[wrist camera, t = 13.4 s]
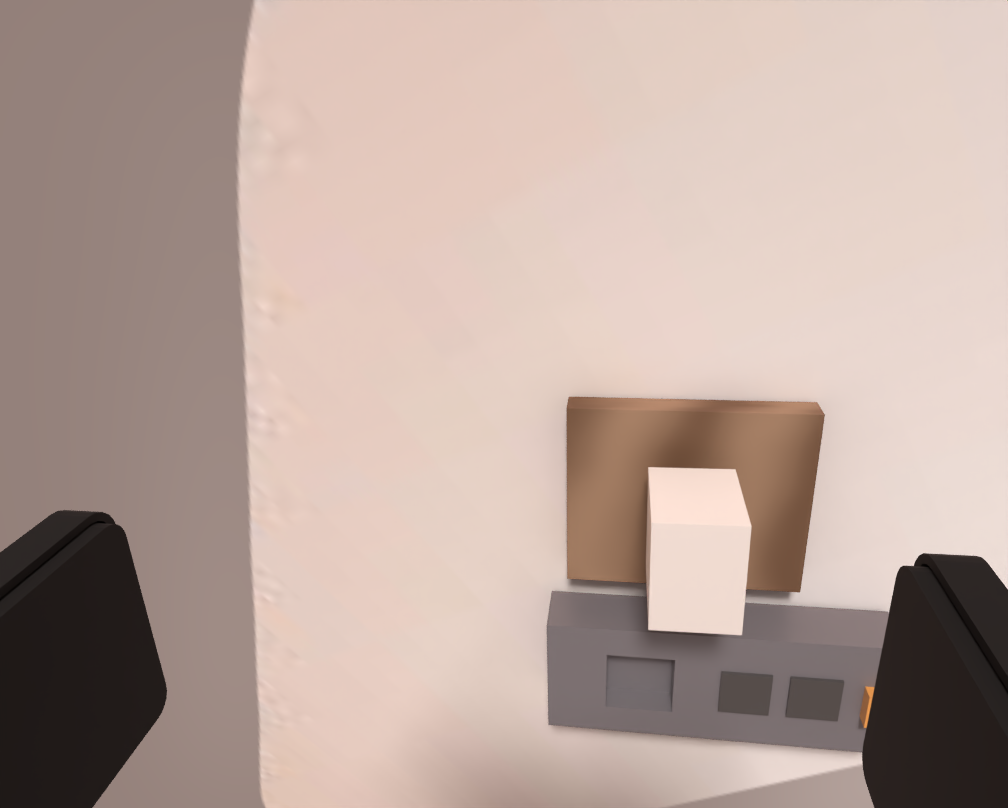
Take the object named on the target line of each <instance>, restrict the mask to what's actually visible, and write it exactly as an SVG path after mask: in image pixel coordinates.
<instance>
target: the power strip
mask: <svg viewBox="0 0 1008 808" xmlns="http://www.w3.org/2000/svg"><path fill="white" fill-rule="evenodd" d="M888 616H889V613H888V612H884V611H868V610H852V609H836V608H819V607H803V606H787V605H770V604H754V603H745V607H744V618H743V630H742V635H728V634H710V633H693V632H675V631H657V630H648V608H647V597H640V596H624V595H608V594H592V593H575V592H559V591H552V594H551V601H550V608H549V614H548V621H547V661H548V719H549V725H558V726H569V727H580V728H592V729H603V730H614V731H626V732H637V733H648V734H660V735H671V736H682V737H694V738H705V739H716V740H728V741H739V742H751V743H762V744H773V745H785V746H796V747H807V748H819V749H830V750H841V751H853V752H862V751H863V743H864V738H865V733H866V728H867V723H868V718H869V713H870V708H871V703H872V697H873V692H874V687H875V682H876V677H877V672H878V667H879V662H880V657H881V652H882V647H883V642H884V637H885V631H886V626H887V621H888Z"/></svg>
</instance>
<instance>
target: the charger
mask: <svg viewBox="0 0 1008 808" xmlns="http://www.w3.org/2000/svg"><path fill="white" fill-rule="evenodd" d="M751 527H752V526H751V523H750V519H749V516H748V512H747V509H746V505H745V501H744V498H743V494H742V491H741V487H740V484H739V480H738V477H737V473H736V469H703V468H660V467H648V498H647V536H646V583H647V608H648V630H657V631H675V632H693V633H710V634H728V635H742V630H743V618H744V607H745V595H746V584H747V572H748V561H749V550H750V538H751Z"/></svg>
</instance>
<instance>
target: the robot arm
mask: <svg viewBox="0 0 1008 808" xmlns="http://www.w3.org/2000/svg"><path fill="white" fill-rule="evenodd" d="M166 695H167V688H166V683H165V679H164V675H163V672H162V668H161V664H160V660H159V657H158V653H157V649H156V645H155V642H154V638H153V634H152V631H151V627H150V623H149V619H148V615H147V612H146V608H145V604H144V601H143V597H142V593H141V589H140V585H139V582H138V578H137V574H136V570H135V567H134V563H133V559H132V555H131V552H130V548H129V544H128V541H127V537H126V534H125V532H124V530H123V529H122V527H121V526H119V525H116V524H115V522H114V520H113V519H112V518H111V517H110V515H108V514H106V513H103V512H89V511H69V510H63V511H57V512H55V513H53V514H51V515H50V516H48V517H47V518H46V519H44V520H43V521H42V522H40V523H39V524H38V525H36V526H35V527H34V528H33V529H31V530H30V531H29V532H27V533H26V534H24V535H23V536H22V537H20V538H19V539H18V540H16V541H15V542H14V543H12V544H11V545H10V546H8V547H7V548H6V549H4V550H3V551H2V552H0V808H92V807H93V806H94V805H95V803H96V802H97V801H98V799H99V798H100V797H101V795H102V794H103V792H104V791H105V790H106V788H107V787H108V786H109V784H110V783H111V782H112V780H113V779H114V778H115V776H116V775H117V773H118V772H119V771H120V769H121V768H122V767H123V765H124V764H125V762H126V761H127V760H128V759H129V757H130V756H131V754H132V753H133V752H134V750H135V749H136V748H137V746H138V745H139V744H140V742H141V741H142V740H143V738H144V737H145V735H146V734H147V733H148V731H149V730H150V729H151V727H152V726H153V725H154V723H155V722H156V721H157V719H158V718H159V716H160V714H161V713H162V710H163V708H164V705H165V701H166ZM862 761H863V770H864V776H865V780H866V784H867V787H868V790H869V793H870V796H871V799H872V802H873V805H874V808H1008V589H1007V588H1006V587H1005V585H1004V584H1003V583H1002V581H1001V580H1000V579H999V577H998V576H997V575H996V574H995V572H994V571H993V570H992V568H991V567H990V566H989V564H988V563H987V562H986V561H985V560H984V559H983V558H981V557H978V556H965V555H945V554H925V553H923V554H921V555H920V556H919V557H918V558H917V560H916V561H915V564H914V566H902V567H900V569H899V571H898V573H897V576H896V581H895V586H894V591H893V596H892V601H891V606H890V611H889V616H888V621H887V626H886V631H885V637H884V642H883V647H882V652H881V657H880V662H879V667H878V672H877V677H876V682H875V687H874V692H873V697H872V703H871V708H870V713H869V718H868V723H867V728H866V733H865V738H864V743H863V751H862Z"/></svg>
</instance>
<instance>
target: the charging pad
mask: <svg viewBox="0 0 1008 808" xmlns="http://www.w3.org/2000/svg"><path fill="white" fill-rule="evenodd" d="M824 416H825V415H824V413H823V411H822V410H821V408H820V406H819V404H818V403H817V402H774V401H730V400H686V399H642V398H599V397H569V399H568V404H567V579H583V580H600V581H617V582H634V583H646V536H647V498H648V467H660V468H703V469H736V473H737V477H738V480H739V484H740V487H741V491H742V494H743V498H744V501H745V505H746V509H747V512H748V516H749V519H750V523H751V526H752V527H751V538H750V550H749V561H748V572H747V584H746V589H753V590H770V591H787V592H800V589H801V581H802V574H803V567H804V560H805V553H806V546H807V538H808V531H809V524H810V517H811V510H812V503H813V495H814V488H815V481H816V474H817V467H818V459H819V452H820V445H821V438H822V431H823V424H824Z"/></svg>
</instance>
